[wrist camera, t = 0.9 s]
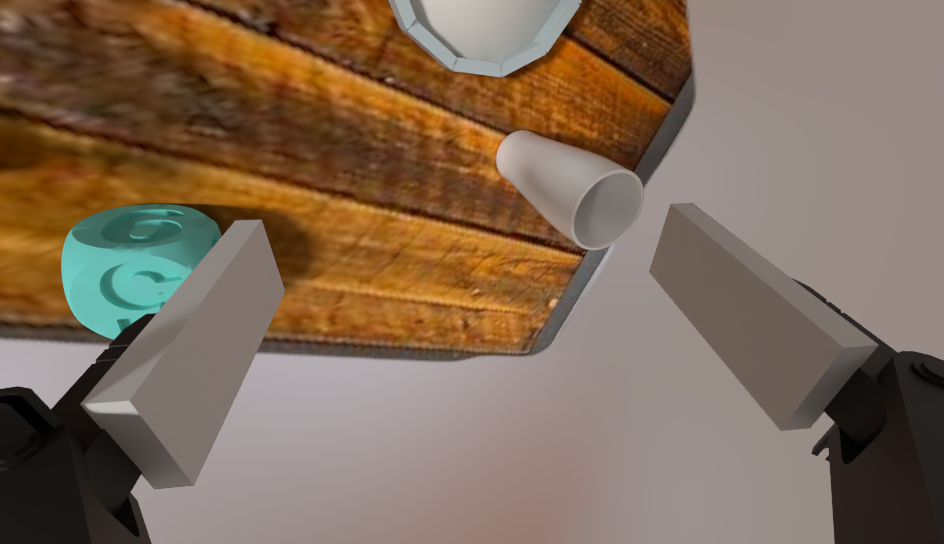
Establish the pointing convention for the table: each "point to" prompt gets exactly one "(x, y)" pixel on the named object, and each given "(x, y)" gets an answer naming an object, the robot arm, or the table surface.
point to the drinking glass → (572, 188)
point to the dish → (484, 31)
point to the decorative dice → (132, 262)
